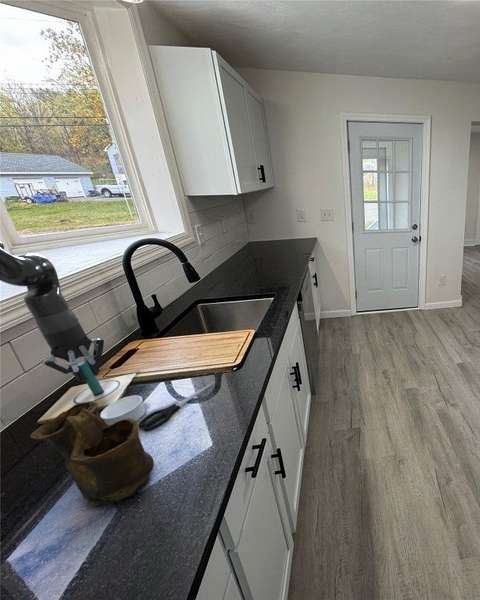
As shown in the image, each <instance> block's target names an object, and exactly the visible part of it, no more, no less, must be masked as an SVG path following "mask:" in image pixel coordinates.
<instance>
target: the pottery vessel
mask: <svg viewBox="0 0 480 600" xmlns="http://www.w3.org/2000/svg"><path fill="white" fill-rule="evenodd" d="M139 429H140V428H139V423H138V422H137V421H135V419H134V420H133V418H126V419H122V420H120V421H118V422H115V423H114V424H107V423H106V422H105V421H104V420H103V419H102V418H101V417H100V413H99V410H98V403H97V402H93V401H88V402H83V403H79V404H76V405H74V406H73V407H72V408H70V409H69V410H67V411H64V412H62V413H61V414H59V415H58V416H57V417H56V418H55V419H53V420H51V421H48V420H47V421H46V422H45V423H43V424H41V425H39V427H38V428H37V429H36V430H33V431H32V432H31V434H30V439H32V440H36V441H38V442H40V441H41V442H42V441H46V442H48V443H49V444H50V445H51V446H53V447H54V448H55V449H56V450H57V451H58V452H59V453H60V455H62V457H63V458H64V468H65V469H66V470H67V472H68V474H69V475H70V477H71V478H72V480H73V481H74V484H75V485H76V487H77V489H78V490H79V492H80V494H81V495H82V497H83V498H84V499H85V500H86V501H87V502H88V504H89V505H90V506H91V507H96V506H99V505H102V504H106V505H107V504H112V503H114V502H115V503H116V502H117V503H120V502H121V501H122V500H123V499H125V498H127V497H129V498H131V497H133V496H135V495H136V493H137V492H139V491H140V490H141V489H142V488H143V487H144V486H146V485H147V483H148V482H149V478H150V475H151V472H152V471H153V469H154V466H155V461H154V458H153V457H152V455H151V454H150V453H149V452H146V451H145V448H144V447H143V443H142V442H141V439H140V436H139V434H140V432H139Z"/></svg>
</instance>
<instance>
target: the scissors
mask: <svg viewBox="0 0 480 600" xmlns="http://www.w3.org/2000/svg"><path fill="white" fill-rule="evenodd" d="M214 384H215V381H213V382H211V383H210V384H208V385H206V386H204V387H202V388H201V389H199V390H198V391H196V392H194V393H192V394H191V395H189V396H187V397H186V398H184V399H182V400H181V401H179V402H178V403H177V404H176V403H173V404H172V405H170V406H168V407H165V408H162V409H158V410H155V411H152V412H151V413H149V414H147V416H145V417H144V418H143V419H142V420H140V422H139V423H138V428H139V429H143V431H145V432H149V431H153V430H156V429H157V428H159V427H161V426H163V425H165V424H166V423H167V422H169V421H170V419H171V418H172V416H173V415H174V414H175V413H176V412H177V411H179V410H180V409H181V406H183V405H185V404H186V403H188V402H189V401H190V400H193V398H195V397H196V396H198V395H200V394H201V393H203V392H204V391H206V390H207V389H209V388H210V387H211V386H213V385H214ZM154 416H155V417H154ZM165 417H166V418H165ZM163 418H164V419H163ZM149 419H150V420H149ZM148 420H149V421H148ZM159 421H160V422H159Z"/></svg>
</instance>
